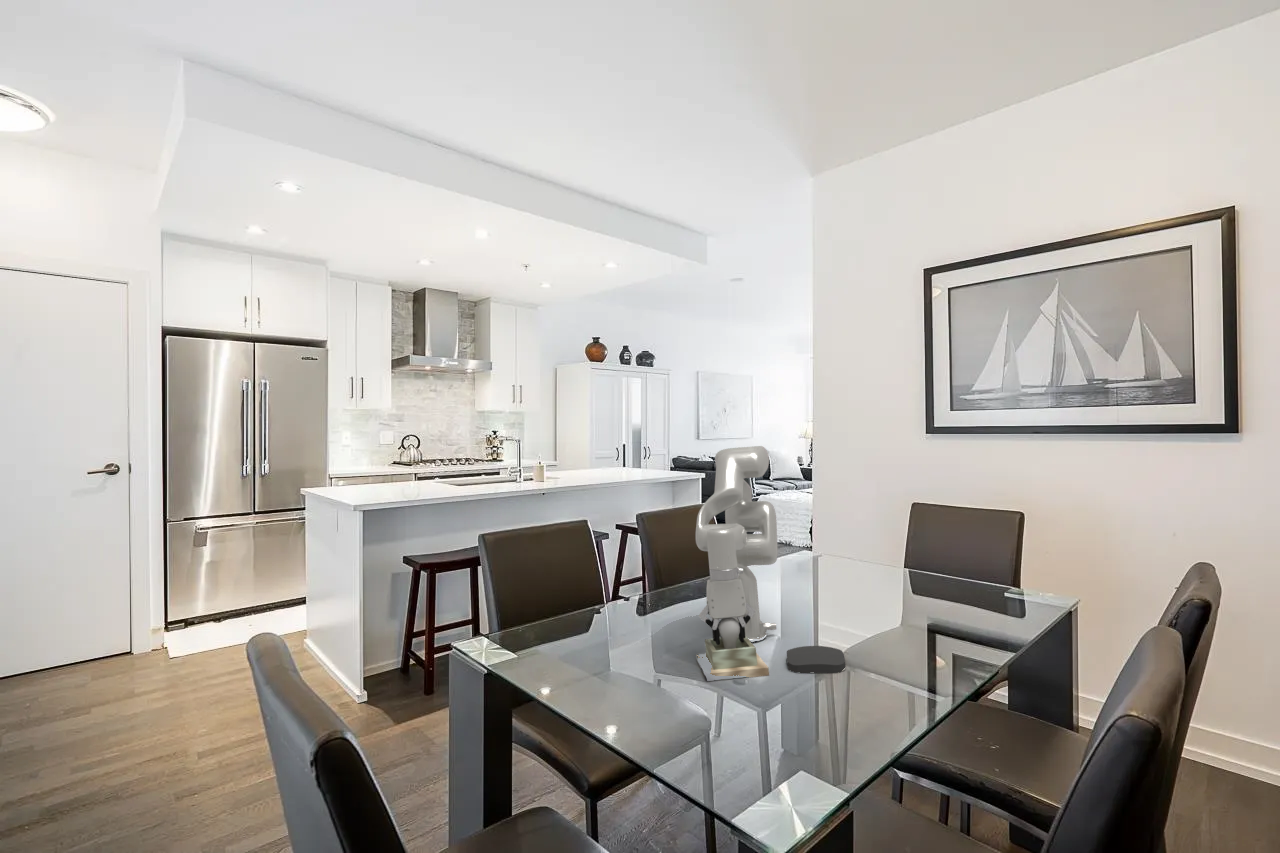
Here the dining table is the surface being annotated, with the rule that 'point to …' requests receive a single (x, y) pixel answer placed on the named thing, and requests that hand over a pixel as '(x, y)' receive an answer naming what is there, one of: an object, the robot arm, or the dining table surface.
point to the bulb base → (735, 659)
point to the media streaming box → (815, 659)
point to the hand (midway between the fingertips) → (729, 641)
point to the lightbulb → (729, 632)
